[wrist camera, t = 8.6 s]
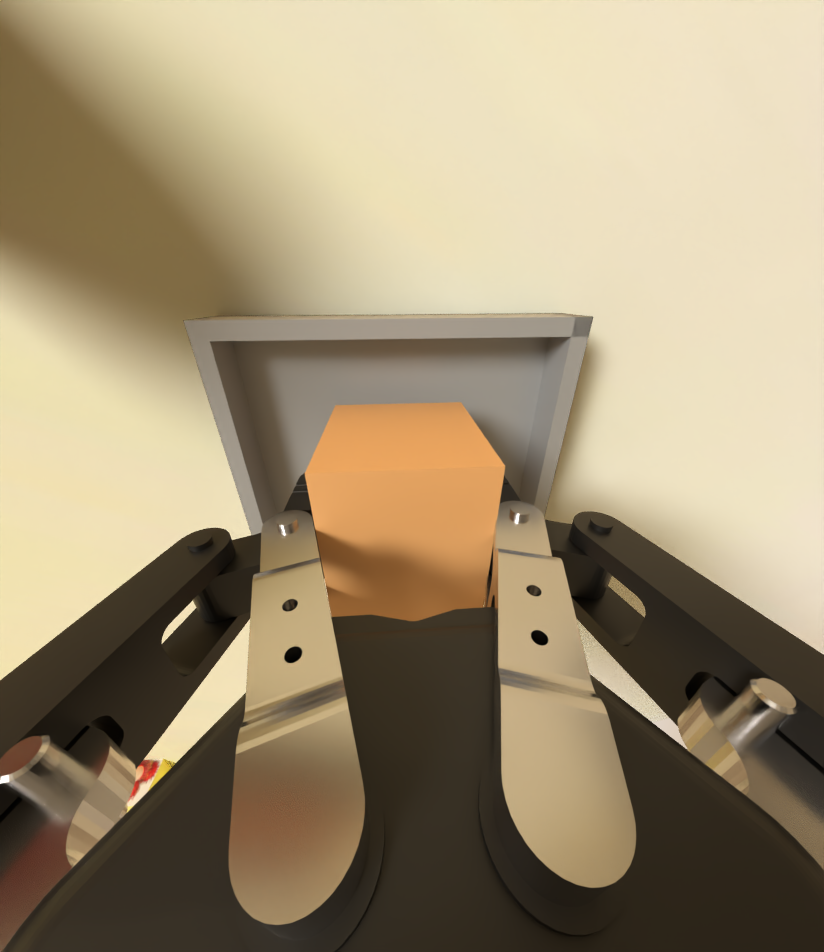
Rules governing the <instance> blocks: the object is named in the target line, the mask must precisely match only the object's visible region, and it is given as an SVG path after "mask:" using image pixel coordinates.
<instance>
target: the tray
mask: <svg viewBox="0 0 824 952" xmlns="http://www.w3.org/2000/svg"><path fill="white" fill-rule="evenodd" d="M592 320H593V317H591V316H582V315H573V314H564V313H531V314H410V315H289V316H213V317H206V318H198V319H191V320H183V321H184V324H185V328H186V331H187V334H188V337H189V340H190V343H191V346H192V350H193V353H194V356H195V359H196V362H197V365H198V368H199V372H200V375H201V378H202V381H203V384H204V387H205V390H206V393H207V397H208V400H209V403H210V406H211V409H212V412H213V415H214V419H215V422H216V425H217V428H218V431H219V434H220V437H221V441H222V444H223V447H224V450H225V453H226V456H227V459H228V463H229V466H230V469H231V472H232V475H233V478H234V481H235V485H236V488H237V491H238V494H239V497H240V500H241V503H242V507H243V510H244V513H245V516H246V519H247V522H248V525H249V529H250V532H251V535H255V534H258V533H261V529H262V526H263V524H264V523H265V521H266V520H267V519H269V518H270V517H272V516H273V515H275V514H278V513H280V512H283V511H284V509H285V507H286V505H287V502H288V500H289V498H290V496H291V494H292V493H293V490H294V487H295V486H296V483H297V481H298V479H299V477H300V476H301V475H302V474H303V473H305V472H306V470H307V467H308V465H309V463H310V461H311V458H312V456H313V454H314V452H315V449H316V447H317V445H318V443H319V441H320V438H321V436H322V434H323V432H324V429H325V427H326V425H327V423H328V421H329V418H330V416H331V414H332V412H333V409H334V407H335V405H363V404H405V403H447V402H461V403H462V404H463V406H464V407H465V409H466V410H467V412H468V413H469V414H470V416H471V417H472V419H473V420H474V422H475V423H476V425H477V426H478V427H479V429H480V430H481V432H482V433H483V435H484V436H485V438H486V439H487V440H488V442H489V443H490V445H491V446H492V448H493V449H494V451H495V452H496V453H497V455H498V456H499V458H500V459H501V461H502V462H503V464H504V465H505V472H504V475H505V478H506V479H507V480H508V482H509V484H510V485H511V486H512V488H513V489H514V491H515V492H516V494H517V495H518V497H519V499H520V500H521V501H522V502H526V503H529V504H531V505H533V506H535V507H537V508H538V509H539V510H540V511H541V512H542V513H543V515H544V516H545V512H546V508H547V504H548V500H549V496H550V492H551V487H552V483H553V479H554V475H555V471H556V467H557V463H558V459H559V455H560V451H561V447H562V443H563V438H564V434H565V430H566V426H567V422H568V418H569V414H570V410H571V406H572V402H573V398H574V394H575V389H576V385H577V381H578V377H579V373H580V369H581V365H582V361H583V357H584V353H585V349H586V345H587V340H588V336H589V332H590V328H591V324H592Z"/></svg>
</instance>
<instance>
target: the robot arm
mask: <svg viewBox="0 0 824 952" xmlns="http://www.w3.org/2000/svg"><path fill="white" fill-rule="evenodd" d="M612 576H614V577H615V578H616V579H617V580H618V581H620V582H621V583H622V584H623V585H624V586H626V587H627V588H628V589H629V590H631V591H632V592H633V593H634V594H635V595H636V596H638V597H639V599H640V600H641V601H642V603H643V605H644V607H645V610H646V616H645V618H644V617H643V616H642V615H641V614H639V613H638V612H637V611H636V610H635V609H634V608H633V607H631V606H630V605H629V604H628V603H627V602H626V601H624V600H623V599H622V598H621V597H620V596H619V595H618V594H616V593H615V592H614V591H613V590H612V589H611V588H610V587H608V584H609V581H610V579H611V577H612ZM192 600H193V601H194V604H195V606H196V609H195V610H194V611H193V612H192V613H191V614H190V615H189V616H188V617H187V618H186V619H185V620H184V622H183V623H182V624H181V625H180V626H179V627H178V628H177V629H176V630H175V631H174V632H173V633H172V634H171V635H170V636H169V637H168V638H167V639H166V640H165V642H164V643H163V644H161V642H162V636H163V633H164V631H165V629H166V628H167V626H168V625H169V624H170V623H171V622H172V621H173V620H174V619H175V618H176V617H177V616H178V615H179V614H180V613H181V612H182V610H183V609H184V608H185V607H186V606H187V605H188V604H189V603H190V602H191V601H192ZM576 618H577V619H578V621H579V622H580V623H581V624H582V625H583V626H584V627H585V628H586V629H587V630H588V631H589V632H590V633H591V634H592V635H593V636H594V638H595V639H596V640H597V641H598V642H599V643H600V644H601V645H602V646H603V647H604V648H605V649H606V650H607V651H608V652H609V654H610V655H611V656H612V657H613V658H614V659H615V660H616V661H617V662H618V663H619V664H620V665H621V666H622V667H623V668H624V670H625V671H626V672H627V673H628V674H629V675H630V676H631V677H632V678H633V679H634V680H635V681H636V682H637V683H638V684H639V686H640V687H641V688H642V689H643V690H644V691H645V692H646V693H647V694H648V695H649V696H650V697H651V698H652V699H653V700H654V701H655V703H656V704H657V705H658V706H659V707H660V708H661V709H662V710H663V711H664V712H665V713H666V714H667V715H668V716H669V717H670V718H671V720H673V722H674V723H675V724H676V725H677V726H678V728H679V732H680V734H681V737H682V739H683V741H684V743H685V745H686V746H687V748H688V749H685V748H684V747H683V746H681V745H680V744H679V743H678V742H676V741H675V740H674V739H672V738H671V737H670V736H669V735H667V734H666V733H665V732H664V731H662V730H661V729H660V728H658V727H657V726H656V725H655V724H653V723H652V722H651V721H649V720H648V719H647V718H646V717H644V716H643V715H642V714H640V713H639V712H638V711H637V710H635V709H634V708H633V707H631V706H630V705H629V704H628V703H626V702H625V701H624V700H622V699H621V698H620V697H619V696H617V695H616V694H615V693H613V692H612V691H611V690H610V689H608V688H607V687H606V686H604V685H603V684H602V683H601V682H599V681H598V680H597V679H595V678H594V677H593V676H592V675H590V674H589V669H588V665H587V661H586V657H585V653H584V649H583V644H582V640H581V636H580V632H579V628H578V624H577V619H576ZM249 619H250V633H249V650H248V667H247V685H246V693H245V694H244V695H243V696H242V697H241V698H240V699H239V700H238V701H237V702H236V703H235V704H234V705H233V706H232V707H231V708H230V709H229V710H228V711H227V712H226V713H225V714H224V715H223V716H222V717H221V718H220V719H219V720H218V721H217V722H216V723H215V724H214V725H213V726H212V727H211V728H210V729H209V730H208V731H207V732H206V733H205V734H204V735H203V736H202V737H201V738H200V739H199V740H198V742H197V743H196V744H195V745H194V746H193V747H192V748H191V749H190V750H189V751H188V752H187V753H186V754H185V755H184V756H183V757H182V758H181V759H180V760H179V761H178V762H177V763H176V764H175V765H174V766H173V767H172V768H171V769H170V770H169V771H168V772H167V773H166V774H165V775H164V776H163V777H162V778H161V779H160V780H159V781H158V782H157V783H156V784H155V785H154V786H153V787H152V788H151V789H150V790H149V791H148V792H147V793H146V794H145V795H144V796H143V797H142V798H141V799H140V800H139V801H138V802H137V803H136V804H135V805H134V806H133V807H132V808H131V809H130V810H129V811H128V812H127V810H128V805H127V802H128V800H129V798H130V796H131V793H132V790H133V788H134V784H135V780H136V769H137V768H138V766H139V765H140V764H141V762H142V761H143V760H144V758H145V757H146V756H147V754H148V753H149V752H150V750H151V749H152V748H153V746H154V745H155V744H156V742H157V741H158V740H159V738H160V737H161V736H162V734H163V733H164V732H165V730H166V729H167V728H168V726H169V725H170V724H171V722H172V721H173V720H174V718H175V717H176V716H177V715H178V713H179V712H180V711H181V709H182V708H183V707H184V705H185V704H186V703H187V701H188V700H189V699H190V697H191V696H192V695H193V693H194V692H195V691H196V689H197V688H198V687H199V685H200V684H201V683H202V681H203V680H204V679H205V677H206V676H207V675H208V673H209V672H210V671H211V669H212V668H213V667H214V665H215V664H216V663H217V662H218V660H219V659H220V658H221V656H222V655H223V654H224V652H225V651H226V650H227V648H228V647H229V646H230V644H231V643H232V642H233V640H234V639H235V638H236V636H237V635H238V634H239V632H240V631H241V630H242V628H243V627H244V626H245V624H246V623H247V622H248V620H249ZM0 952H824V655H823V654H821V653H820V652H818V651H817V650H815V649H814V648H812V647H811V646H809V645H808V644H806V643H805V642H803V641H802V640H800V639H799V638H797V637H795V636H794V635H792V634H791V633H789V632H788V631H786V630H785V629H783V628H782V627H780V626H779V625H777V624H776V623H774V622H773V621H771V620H770V619H768V618H766V617H765V616H763V615H762V614H760V613H759V612H757V611H756V610H754V609H753V608H751V607H750V606H748V605H747V604H745V603H744V602H742V601H740V600H739V599H737V598H736V597H734V596H733V595H731V594H730V593H728V592H727V591H725V590H724V589H722V588H721V587H719V586H718V585H716V584H715V583H713V582H711V581H710V580H708V579H707V578H705V577H704V576H702V575H701V574H699V573H698V572H696V571H695V570H693V569H692V568H690V567H689V566H687V565H685V564H684V563H682V562H681V561H679V560H678V559H676V558H675V557H673V556H672V555H670V554H669V553H667V552H666V551H664V550H663V549H661V548H660V547H658V546H656V545H655V544H653V543H652V542H650V541H649V540H647V539H646V538H644V537H643V536H641V535H640V534H638V533H637V532H635V531H634V530H632V529H630V528H629V527H627V526H626V525H624V524H623V523H621V522H620V521H618V520H617V519H615V518H613V517H611V516H608V515H605V514H602V513H598V512H581V513H579V514H577V515H576V516H575V517H574V520H573V523H572V524H566V523H559V522H553V521H548V520H545V519H544V515H543V513H542V512H541V511H540V510H539V509H538V508H537V507H535V506H533V505H531V504H529V503H526V502H522V501H521V500H520V499H519V497H518V495H517V494H516V492H515V491H514V489H513V488H512V486H511V485H510V484H509V482H508V480H507V479H506V478H505V475H504V478H503V485H502V491H501V497H500V504H499V510H498V516H497V520H496V522H495V528H494V535H493V548H492V554H491V561H490V567H489V573H488V576H487V580H486V586H485V606H484V607H483V608H467V609H454V610H451V611H448V612H445V613H441V614H438V615H435V616H432V617H428V618H425V619H422V620H419V621H407V620H401V619H395V618H389V617H383V616H377V615H355V616H339V617H331V613H330V608H329V603H328V597H327V592H326V587H325V582H324V572H323V567H322V562H321V557H320V552H319V546H318V541H317V536H316V531H315V525H314V520H313V515H312V510H311V504H310V499H309V494H308V489H307V483H306V478H305V473H303V474H302V475H301V476H300V477H299V479H298V481H297V483H296V486H295V487H294V490H293V493H292V494H291V496H290V498H289V500H288V502H287V505H286V507H285V509H284V511H283V512H280V513H278V514H275V515H273V516H272V517H270V518H269V519H267V520H266V521H265V523H264V524H263V526H262V529H261V533H258V534H255V535H251V536H247V537H243V538H239V539H235V540H232V539H231V536H230V534H229V532H228V531H226V530H224V529H221V528H207V529H203V530H199V531H196V532H193V533H191V534H189V535H187V536H185V537H184V538H182V539H181V540H179V541H178V542H177V543H175V544H174V545H173V546H172V547H170V548H169V549H168V550H166V551H165V552H164V553H163V554H161V555H160V556H159V557H157V558H156V559H155V560H154V561H152V562H151V563H150V564H149V565H147V566H146V567H145V568H143V569H142V570H141V571H140V572H138V573H137V574H136V575H134V576H133V577H132V578H131V579H129V580H128V581H127V582H126V583H124V584H123V585H122V586H120V587H119V588H118V589H117V590H115V591H114V592H113V593H111V594H110V595H109V596H108V597H106V598H105V599H104V600H102V601H101V602H100V603H99V604H97V605H96V606H95V607H94V608H92V609H91V610H90V611H88V612H87V613H86V614H85V615H83V616H82V617H81V618H79V619H78V620H77V621H76V622H74V623H73V624H72V625H71V626H69V627H68V628H67V629H65V630H64V631H63V632H62V633H60V634H59V635H58V636H56V637H55V638H54V639H53V640H51V641H50V642H49V643H48V644H46V645H45V646H44V647H42V648H41V649H40V650H39V651H37V652H36V653H35V654H33V655H32V656H31V657H30V658H28V659H27V660H26V661H25V662H23V663H22V664H21V665H19V666H18V667H17V668H16V669H14V670H13V671H12V672H10V673H9V674H8V675H7V676H5V677H4V678H3V679H2V680H0Z"/></svg>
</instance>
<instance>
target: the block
mask: <svg viewBox="0 0 824 952" xmlns="http://www.w3.org/2000/svg"><path fill="white" fill-rule="evenodd" d="M504 472H505V465H504V464H503V462H502V461H501V459H500V458H499V456H498V455H497V453H496V452H495V451H494V449H493V448H492V446H491V445H490V443H489V442H488V440H487V439H486V438H485V436H484V435H483V433H482V432H481V430H480V429H479V427H478V426H477V425H476V423H475V422H474V420H473V419H472V417H471V416H470V414H469V413H468V412H467V410H466V409H465V407H464V406H463V404H462V403H461V402H447V403H405V404H363V405H335V407H334V409H333V412H332V414H331V416H330V418H329V421H328V423H327V425H326V427H325V429H324V432H323V434H322V436H321V438H320V441H319V443H318V445H317V447H316V449H315V452H314V454H313V456H312V458H311V461H310V463H309V465H308V467H307V470H306V472H305V478H306V483H307V489H308V494H309V499H310V504H311V510H312V515H313V520H314V525H315V531H316V536H317V541H318V546H319V552H320V557H321V562H322V567H323V572H324V578H325V583H326V588H327V593H328V599H329V604H330V609H331V614H332V617H339V616H355V615H377V616H383V617H389V618H395V619H401V620H407V621H419V620H422V619H425V618H428V617H432V616H435V615H438V614H441V613H445V612H448V611H451V610H454V609H467V608H483V605H484V599H485V586H486V580H487V576H488V573H489V567H490V561H491V554H492V548H493V535H494V528H495V522H496V520H497V516H498V510H499V504H500V497H501V491H502V485H503V478H504Z"/></svg>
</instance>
